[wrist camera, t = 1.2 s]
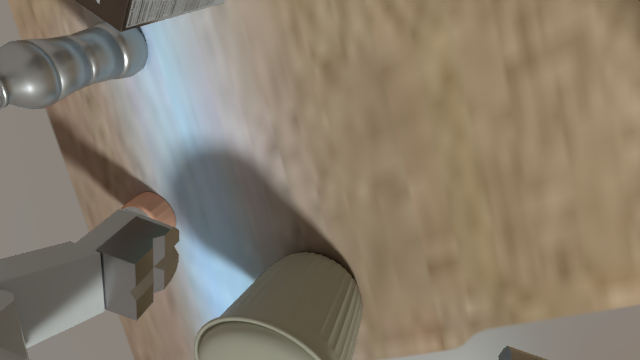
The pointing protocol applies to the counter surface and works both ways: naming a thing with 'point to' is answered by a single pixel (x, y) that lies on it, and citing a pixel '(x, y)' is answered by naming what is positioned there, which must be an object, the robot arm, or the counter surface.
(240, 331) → the canister
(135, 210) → the pepper shaker
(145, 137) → the counter surface
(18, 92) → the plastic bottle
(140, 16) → the coffee box
